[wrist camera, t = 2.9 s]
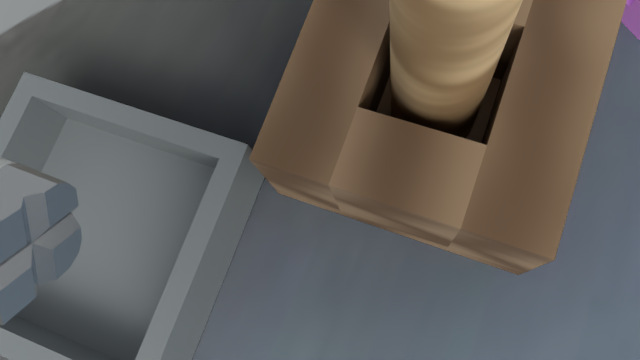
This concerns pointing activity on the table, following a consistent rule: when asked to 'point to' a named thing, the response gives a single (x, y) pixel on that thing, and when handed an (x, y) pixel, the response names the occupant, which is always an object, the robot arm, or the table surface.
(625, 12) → the bracket
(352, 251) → the table surface
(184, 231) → the grey tray
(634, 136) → the table surface
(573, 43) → the walnut holder
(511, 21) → the oak dowel
